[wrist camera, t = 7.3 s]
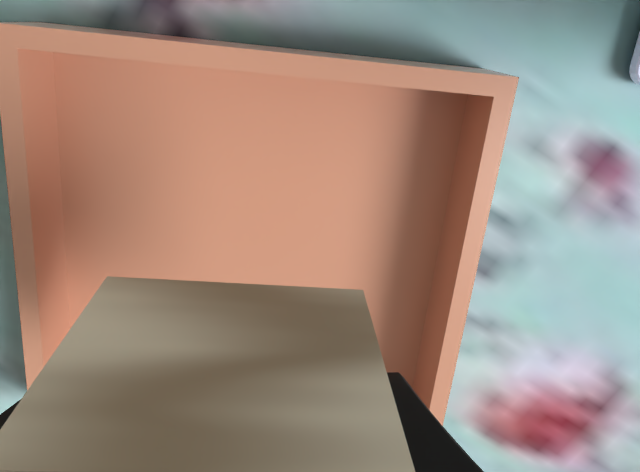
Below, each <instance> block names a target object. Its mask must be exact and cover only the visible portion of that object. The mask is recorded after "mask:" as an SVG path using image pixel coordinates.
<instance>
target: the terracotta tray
mask: <svg viewBox="0 0 640 472" xmlns="http://www.w3.org/2000/svg"><path fill="white" fill-rule="evenodd" d="M518 79H519V77H516V76H511V75H507V74H503V73H499V72H495V71H491V70H487V69H482V68H473V67H463V66H454V65H444V64H435V63H425V62H416V61H406V60H397V59H387V58H378V57H368V56H359V55H349V54H340V53H330V52H321V51H311V50H302V49H292V48H283V47H273V46H264V45H254V44H245V43H235V42H226V41H217V40H207V39H198V38H188V37H179V36H169V35H160V34H150V33H141V32H131V31H122V30H112V29H103V28H93V27H84V26H74V25H65V24H55V23H46V22H0V115H1V126H2V136H3V146H4V157H5V167H6V177H7V188H8V198H9V208H10V218H11V229H12V239H13V249H14V260H15V270H16V280H17V291H18V301H19V311H20V322H21V332H22V342H23V352H24V363H25V373H26V383H27V390H28V389H29V388H30V386H31V385H32V383H33V382H34V380H35V379H36V378H37V376H38V375H39V373H40V372H41V370H42V369H43V367H44V366H45V365H46V363H47V362H48V360H49V359H50V357H51V356H52V355H53V353H54V352H55V350H56V349H57V347H58V346H59V344H60V343H61V342H62V340H63V339H64V337H65V336H66V334H67V333H68V332H69V330H70V329H71V327H72V326H73V324H74V323H75V321H76V320H77V319H78V317H79V316H80V314H81V313H82V311H83V310H84V309H85V307H86V306H87V304H88V303H89V301H90V300H91V298H92V297H93V296H94V294H95V293H96V291H97V290H98V288H99V287H100V286H101V284H102V283H103V281H104V280H105V278H106V277H107V276H111V277H130V278H149V279H168V280H187V281H206V282H225V283H244V284H263V285H282V286H300V287H319V288H338V289H357V290H363V292H364V295H365V298H366V302H367V305H368V309H369V312H370V316H371V319H372V323H373V326H374V330H375V333H376V337H377V340H378V344H379V347H380V351H381V354H382V358H383V361H384V365H385V368H386V372H387V373H388V372H399V373H400V374H401V375H402V376H403V377H404V378H405V380H406V381H407V382H408V384H409V385H410V386H411V387H412V389H413V390H414V391H415V393H416V394H417V395H418V397H419V398H420V399H421V400H422V402H423V403H424V404H425V405H426V407H427V408H428V409H429V410H430V412H431V413H432V414H433V415H434V416H435V418H436V419H437V420H438V421H439V423H440V424H441V425H442V426H443V421H444V417H445V412H446V408H447V403H448V399H449V394H450V389H451V385H452V380H453V376H454V371H455V367H456V362H457V358H458V353H459V348H460V344H461V339H462V335H463V330H464V326H465V321H466V316H467V312H468V307H469V303H470V298H471V294H472V289H473V285H474V280H475V275H476V271H477V266H478V262H479V257H480V253H481V248H482V243H483V239H484V234H485V230H486V225H487V221H488V216H489V212H490V207H491V202H492V198H493V193H494V189H495V184H496V180H497V175H498V171H499V166H500V161H501V157H502V152H503V148H504V143H505V139H506V134H507V129H508V125H509V120H510V116H511V111H512V107H513V102H514V98H515V93H516V88H517V84H518Z"/></svg>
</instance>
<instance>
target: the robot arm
mask: <svg viewBox="0 0 640 472" xmlns="http://www.w3.org/2000/svg"><path fill="white" fill-rule="evenodd" d="M629 73H630V77H631V79H632V80H633V81H634V83H635V84H638V85H640V32H639V36H638V39H637V43H636V46H635V50H634V53H633V57H632V60H631V64H630V70H629ZM387 375H388V379H389V382H390V385H391V389H392V392H393V396H394V399H395V403H396V406H397V410H398V413H399V417H400V420H401V424H402V427H403V431H404V434H405V438H406V441H407V445H408V448H409V452H410V455H411V459H412V462H413V466H414V469H415V472H484V471H483V470H482V469H481V468H480V467H479V466H478V465H477V464H476V463H475V462H474V461H473V460H472V459H471V458H470V457H469V455H468V454H467V453H466V452H465V451H464V450H463V449H462V448H461V447H460V445H459V444H458V443H457V442H456V441H455V440H454V439H453V438H452V436H451V435H450V434H449V433H448V432H447V431H446V430H445V428H444V427H443V426H442V425H441V424H440V423H439V421H438V420H437V419H436V418H435V416H434V415H433V414H432V413H431V412H430V410H429V409H428V408H427V407H426V405H425V404H424V403H423V402H422V400H421V399H420V398H419V397H418V395H417V394H416V393H415V391H414V390H413V389H412V387H411V386H410V385H409V384H408V382H407V381H406V380H405V378H404V377H403V376H402V375H401V374H400V373H399V372H388V373H387ZM20 401H21V400H19V401H18V402H17V403H15V404H14V405H13V406H11V407H10V408H9V409H7V410H6V411H4V412H3V413H2V414H0V429H1V428H2V426H3V425H4V424H5V422H6V421H7V419H8V418H9V416H10V415H11V414H12V412H13V411H14V409H15V408H16V406H17V405H18V403H19V402H20Z"/></svg>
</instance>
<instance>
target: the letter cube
mask: <svg viewBox="0 0 640 472" xmlns="http://www.w3.org/2000/svg"><path fill="white" fill-rule="evenodd" d="M0 472H415V469H414V466H413V462H412V459H411V455H410V452H409V448H408V445H407V441H406V438H405V434H404V431H403V427H402V424H401V420H400V417H399V413H398V410H397V406H396V403H395V399H394V396H393V392H392V389H391V385H390V382H389V379H388V375H387V372H386V368H385V365H384V361H383V358H382V354H381V351H380V347H379V344H378V340H377V337H376V333H375V330H374V326H373V323H372V319H371V316H370V312H369V309H368V305H367V302H366V298H365V295H364V292H363V290H357V289H338V288H319V287H300V286H282V285H263V284H244V283H225V282H206V281H187V280H168V279H149V278H130V277H111V276H107V277H106V278H105V280H104V281H103V283H102V284H101V286H100V287H99V288H98V290H97V291H96V293H95V294H94V296H93V297H92V298H91V300H90V301H89V303H88V304H87V306H86V307H85V309H84V310H83V311H82V313H81V314H80V316H79V317H78V319H77V320H76V321H75V323H74V324H73V326H72V327H71V329H70V330H69V332H68V333H67V334H66V336H65V337H64V339H63V340H62V342H61V343H60V344H59V346H58V347H57V349H56V350H55V352H54V353H53V355H52V356H51V357H50V359H49V360H48V362H47V363H46V365H45V366H44V367H43V369H42V370H41V372H40V373H39V375H38V376H37V378H36V379H35V380H34V382H33V383H32V385H31V386H30V388H29V389H28V390H27V392H26V393H25V395H24V396H23V398H22V399H21V401H20V402H19V403H18V405H17V406H16V408H15V409H14V411H13V412H12V414H11V415H10V416H9V418H8V419H7V421H6V422H5V424H4V425H3V426H2V428H1V429H0Z"/></svg>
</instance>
